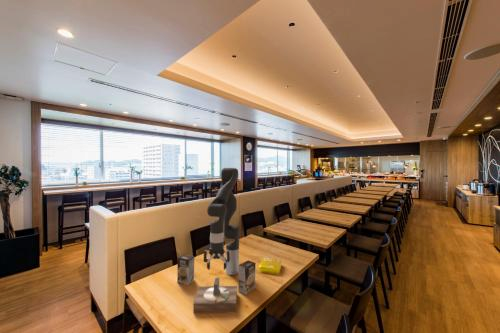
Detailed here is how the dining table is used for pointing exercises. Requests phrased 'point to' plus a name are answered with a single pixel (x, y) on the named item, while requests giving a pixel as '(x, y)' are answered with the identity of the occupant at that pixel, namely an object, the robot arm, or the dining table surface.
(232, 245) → the robot arm
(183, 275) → the coffee box
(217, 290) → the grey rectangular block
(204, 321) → the dining table surface
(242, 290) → the coffee box
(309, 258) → the dining table surface
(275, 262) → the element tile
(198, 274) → the dining table surface
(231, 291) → the tuner box
